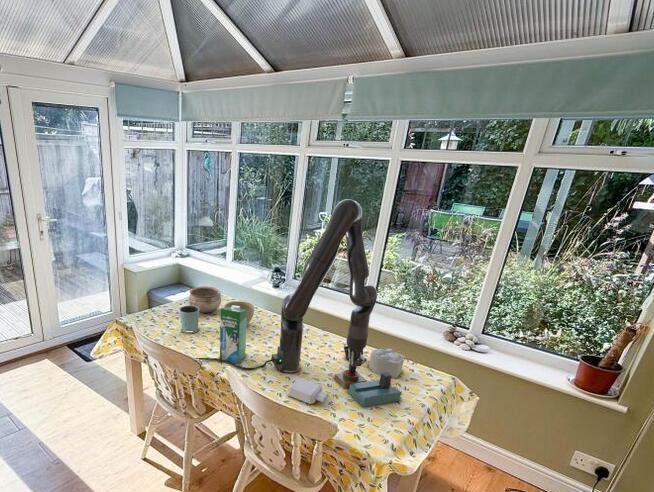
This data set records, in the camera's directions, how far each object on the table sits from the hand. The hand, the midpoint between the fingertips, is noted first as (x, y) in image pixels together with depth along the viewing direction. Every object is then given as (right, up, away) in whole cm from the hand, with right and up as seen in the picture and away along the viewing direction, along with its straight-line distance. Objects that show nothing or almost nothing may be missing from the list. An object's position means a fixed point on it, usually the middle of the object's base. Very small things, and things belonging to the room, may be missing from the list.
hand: (351, 372), depth 168 cm
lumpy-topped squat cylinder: (+18, -1, +11) cm, 21 cm away
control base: (+6, -8, -8) cm, 13 cm away
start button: (0, -2, 0) cm, 2 cm away
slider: (+10, -5, -9) cm, 14 cm away
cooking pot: (-63, +26, +71) cm, 99 cm away
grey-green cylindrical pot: (-70, +16, +47) cm, 85 cm away
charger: (-19, -9, -10) cm, 23 cm away
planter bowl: (-44, +18, +53) cm, 71 cm away
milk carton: (-48, +4, +20) cm, 52 cm away
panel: (0, -4, +1) cm, 4 cm away
